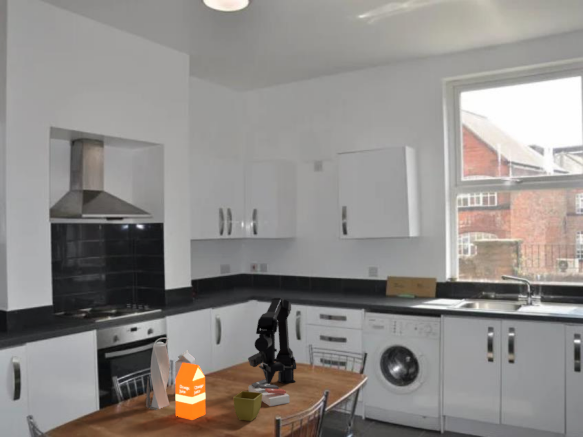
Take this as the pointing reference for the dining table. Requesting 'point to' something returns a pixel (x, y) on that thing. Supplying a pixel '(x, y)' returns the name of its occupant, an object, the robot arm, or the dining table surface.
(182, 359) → the milk carton
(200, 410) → the orange juice
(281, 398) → the power strip
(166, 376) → the skyscraper
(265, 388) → the rocker red
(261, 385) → the rocker middle
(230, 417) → the dining table surface
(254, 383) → the rocker near
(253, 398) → the flower pot
